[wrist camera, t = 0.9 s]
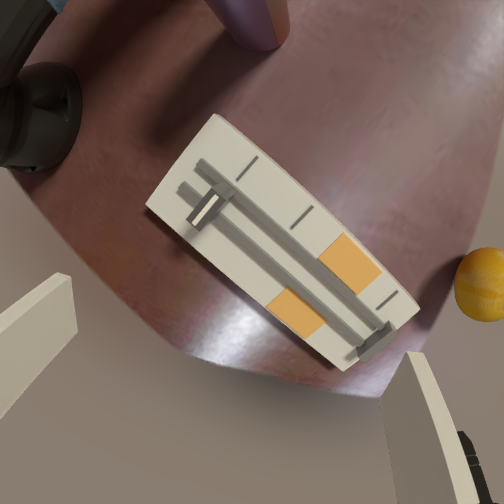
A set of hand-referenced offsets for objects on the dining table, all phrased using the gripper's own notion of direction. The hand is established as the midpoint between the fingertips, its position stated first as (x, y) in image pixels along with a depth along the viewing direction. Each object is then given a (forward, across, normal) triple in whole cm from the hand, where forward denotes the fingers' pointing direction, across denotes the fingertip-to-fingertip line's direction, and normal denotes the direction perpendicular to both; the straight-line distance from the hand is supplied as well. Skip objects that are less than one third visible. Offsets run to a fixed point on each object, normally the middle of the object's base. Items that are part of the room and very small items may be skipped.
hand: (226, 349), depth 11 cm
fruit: (+23, +26, -2) cm, 34 cm away
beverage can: (+24, -4, +18) cm, 31 cm away
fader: (+21, -5, 0) cm, 22 cm away
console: (+23, +3, -4) cm, 24 cm away
